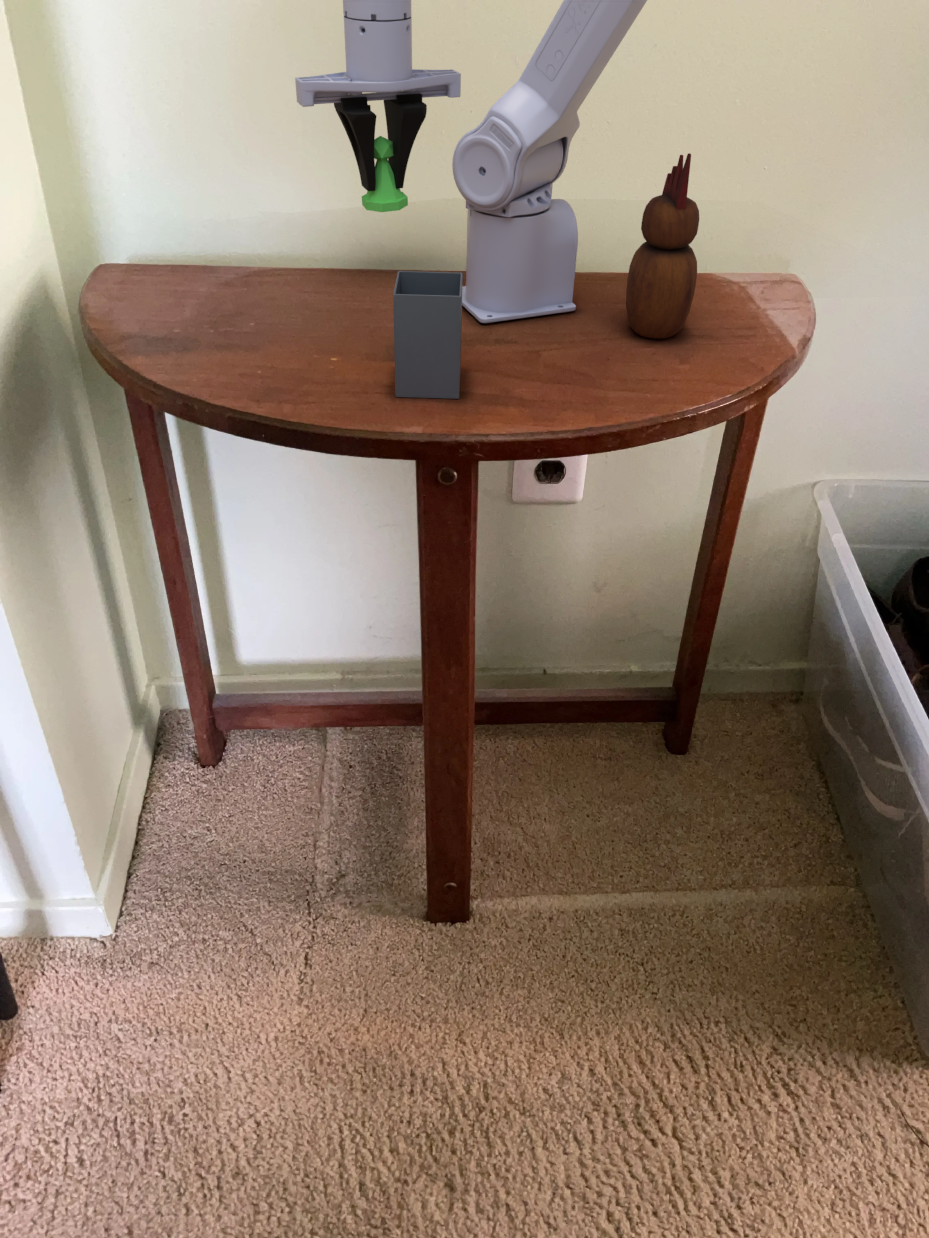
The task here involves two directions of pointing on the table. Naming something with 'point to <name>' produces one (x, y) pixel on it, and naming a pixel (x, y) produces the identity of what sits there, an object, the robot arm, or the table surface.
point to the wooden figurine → (664, 260)
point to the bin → (427, 334)
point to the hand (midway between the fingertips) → (382, 187)
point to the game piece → (384, 182)
